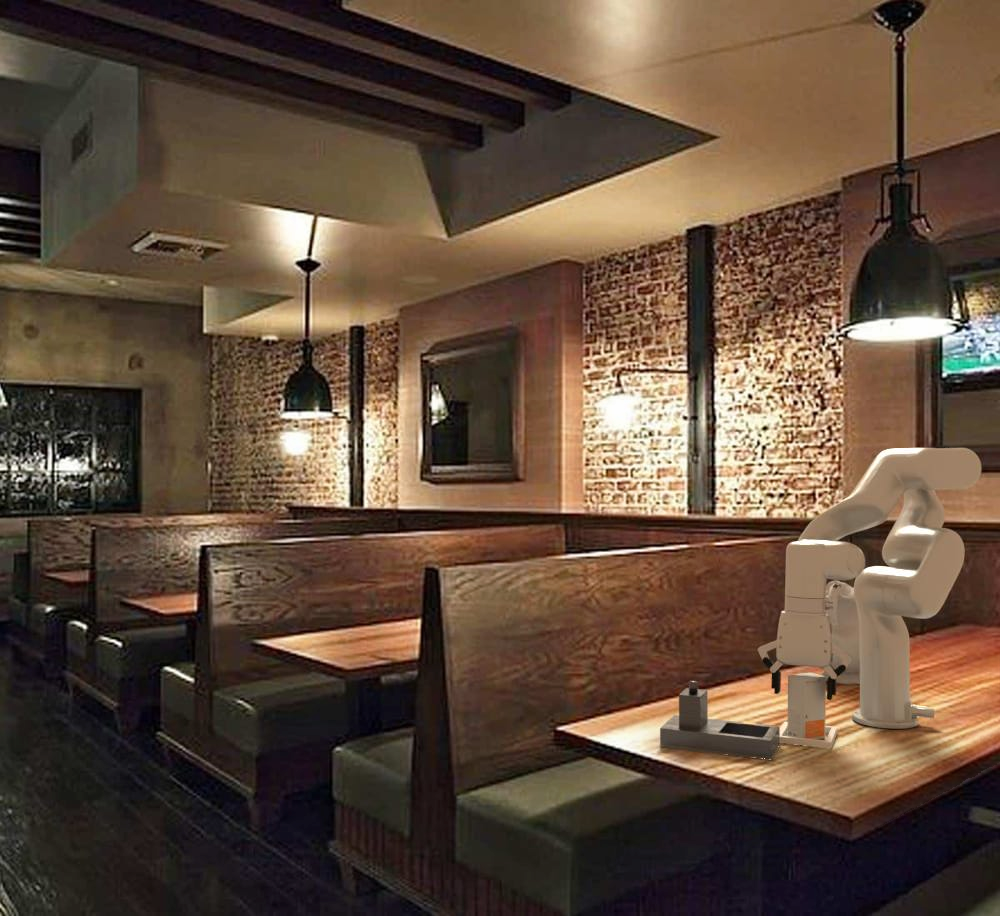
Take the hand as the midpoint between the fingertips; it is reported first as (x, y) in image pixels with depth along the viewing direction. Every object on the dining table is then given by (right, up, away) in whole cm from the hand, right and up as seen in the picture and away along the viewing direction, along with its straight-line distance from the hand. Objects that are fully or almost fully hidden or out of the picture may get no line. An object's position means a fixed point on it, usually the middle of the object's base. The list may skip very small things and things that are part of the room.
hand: (803, 695), depth 184 cm
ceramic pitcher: (+26, -9, +51) cm, 58 cm away
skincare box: (+1, -8, 0) cm, 8 cm away
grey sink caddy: (-17, -8, -5) cm, 20 cm away
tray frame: (+1, -8, 0) cm, 8 cm away
